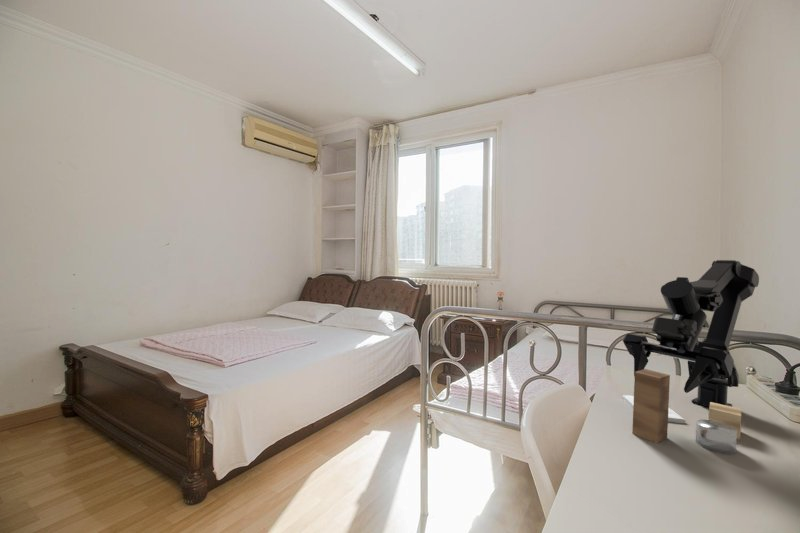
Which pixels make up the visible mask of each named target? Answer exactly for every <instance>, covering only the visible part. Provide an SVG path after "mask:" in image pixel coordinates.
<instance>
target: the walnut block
mask: <svg viewBox="0 0 800 533" xmlns="http://www.w3.org/2000/svg"><path fill="white" fill-rule="evenodd" d="M670 378H671V375H670V374H667V373H664V372H660V371H655V370H652V369H648V368H644V369H643V370H640V371H636V372H635V377H634V381H633V382H634V383H633V384H634V385H633V396H634V406H633V408H632V409H633V410H632V411H633V412H632V429H631V430H632V434H633V435H634V436H638V437H640V438H643V439H646V440H648V441H650V442H653V443H656V444H658V443H661V442H662V441H664V440H665V439H667V438H668V429H669V428H668V427H669V426H668V424H669V422H668V407H669V404H670V403H669V402H670V385H671V384H670V382H671V381H670ZM669 408H670V407H669Z"/></svg>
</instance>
